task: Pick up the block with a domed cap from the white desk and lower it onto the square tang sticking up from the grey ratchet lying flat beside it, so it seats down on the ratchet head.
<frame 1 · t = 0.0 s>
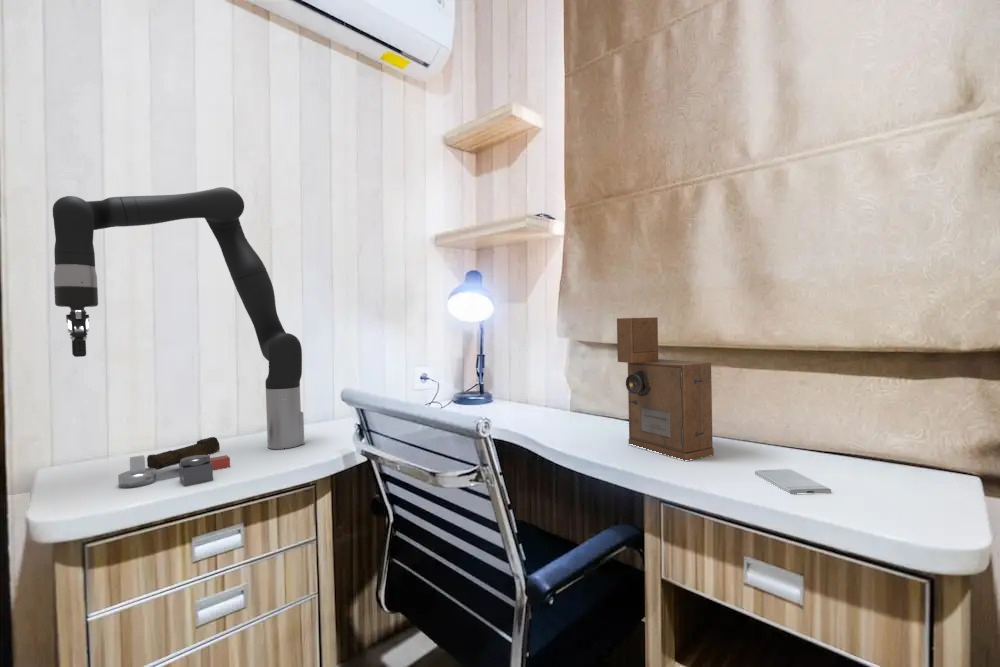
hand: (79, 356, 112), 29 cm above the table, tool pointing down, fingers open, 8 cm apart
vintage camera: (664, 450, 128), on the table
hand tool: (186, 460, 131), on the table
hard drive: (790, 487, 100), on the table
block with domed cap: (196, 480, 112), on the table
ratchet: (138, 483, 111), on the table
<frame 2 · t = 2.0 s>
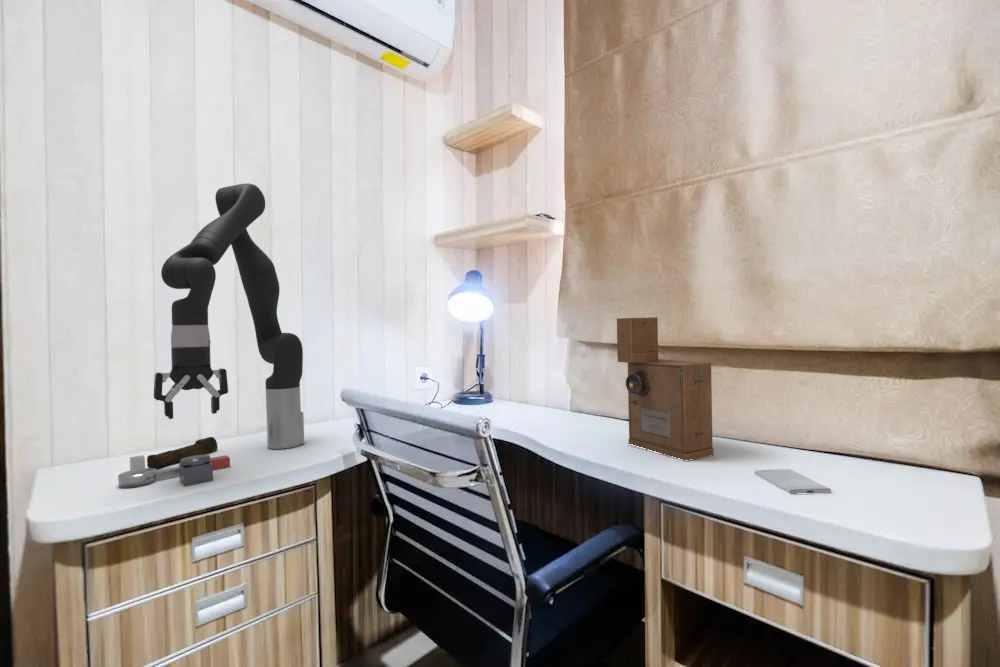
hand: (192, 415, 111), 15 cm above the table, tool pointing down, fingers open, 8 cm apart
nothing on the table moved.
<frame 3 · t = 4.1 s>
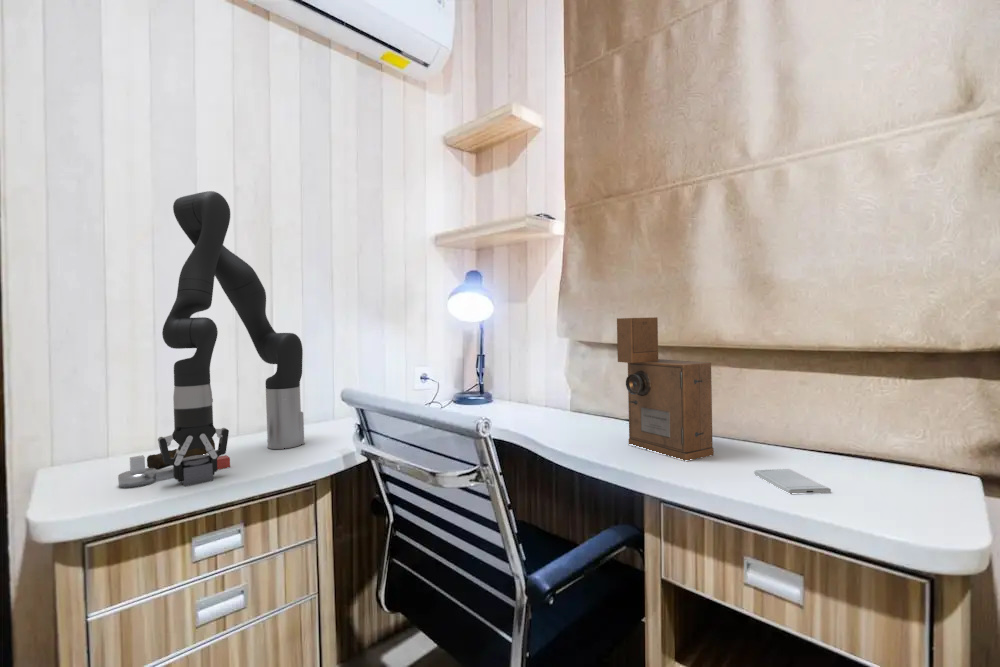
hand: (196, 477, 112), 1 cm above the table, tool pointing down, fingers closed on block with domed cap, 5 cm apart
block with domed cap: (196, 480, 112), on the table, touching gripper
everything else where it was.
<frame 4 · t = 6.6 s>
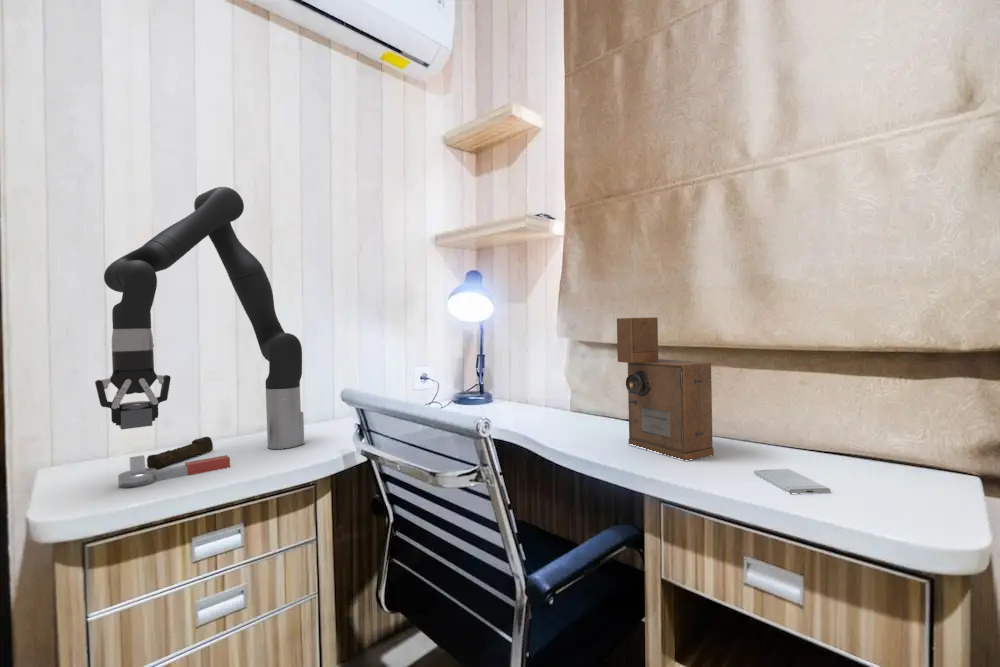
hand: (135, 422, 111), 14 cm above the table, tool pointing down, fingers closed on block with domed cap, 5 cm apart
block with domed cap: (135, 425, 111), point 13 cm above the table, touching gripper
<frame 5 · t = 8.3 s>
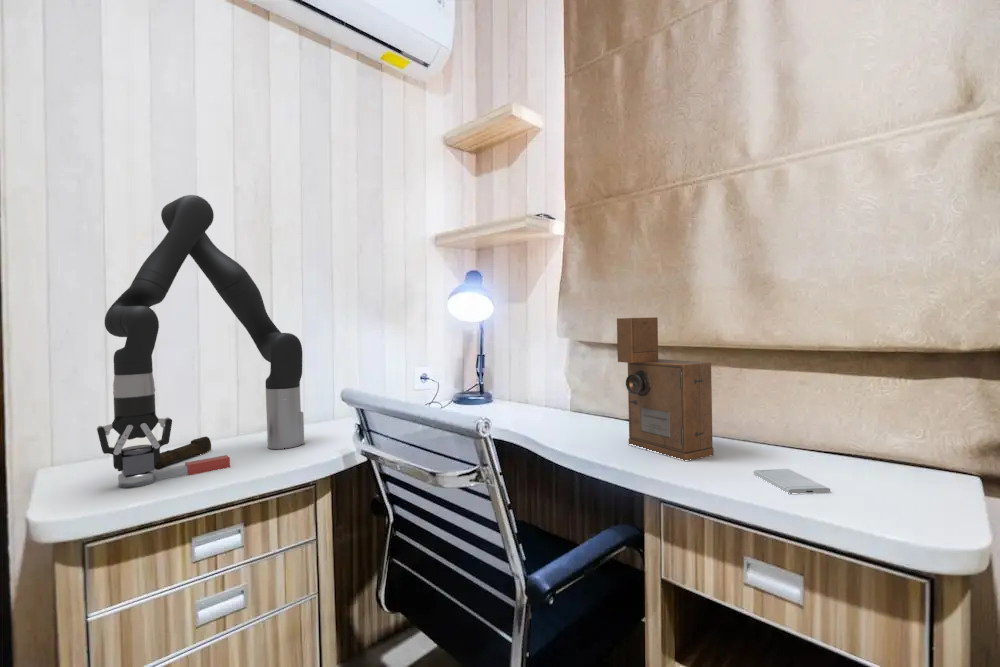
hand: (137, 467, 111), 4 cm above the table, tool pointing down, fingers closed on block with domed cap, 5 cm apart
block with domed cap: (137, 470, 111), point 3 cm above the table, touching gripper
when the fingers open (4 cm above the table, at t = 9.4 s): block with domed cap stays where it is, resting on ratchet.
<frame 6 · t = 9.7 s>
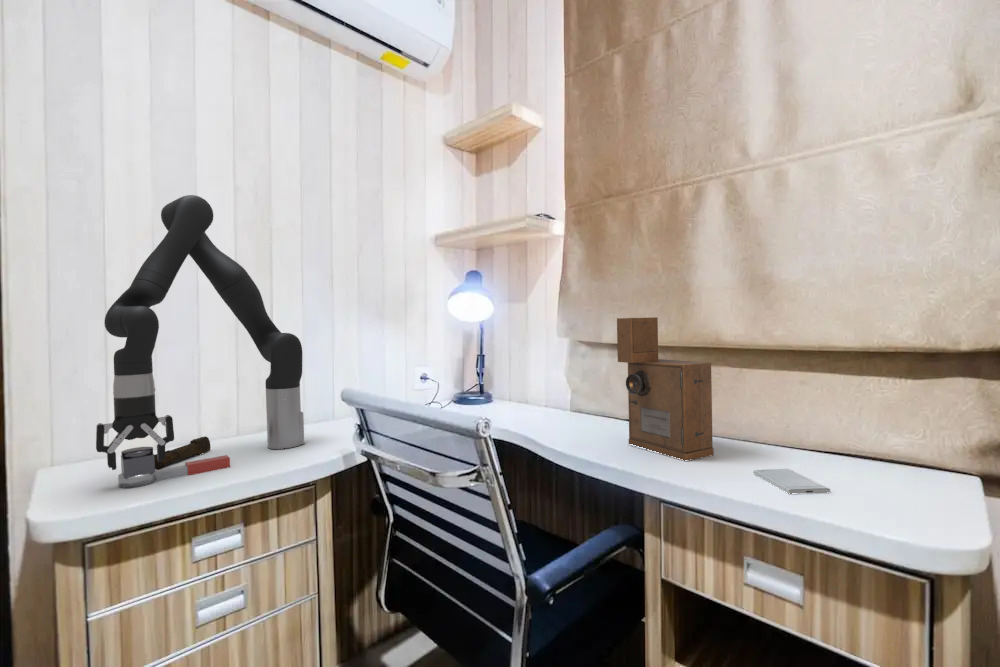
hand: (137, 465, 111), 4 cm above the table, tool pointing down, fingers open, 8 cm apart
block with domed cap: (138, 472, 111), point 2 cm above the table, touching ratchet
ratchet: (138, 483, 111), on the table, touching block with domed cap
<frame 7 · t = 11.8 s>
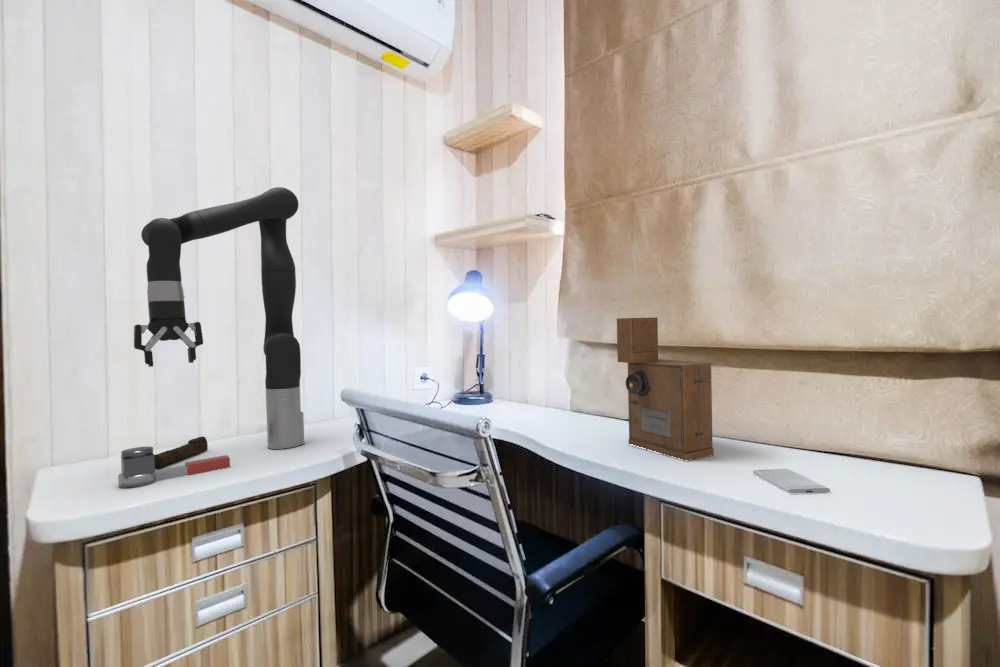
hand: (171, 364, 122), 26 cm above the table, tool pointing down, fingers open, 8 cm apart
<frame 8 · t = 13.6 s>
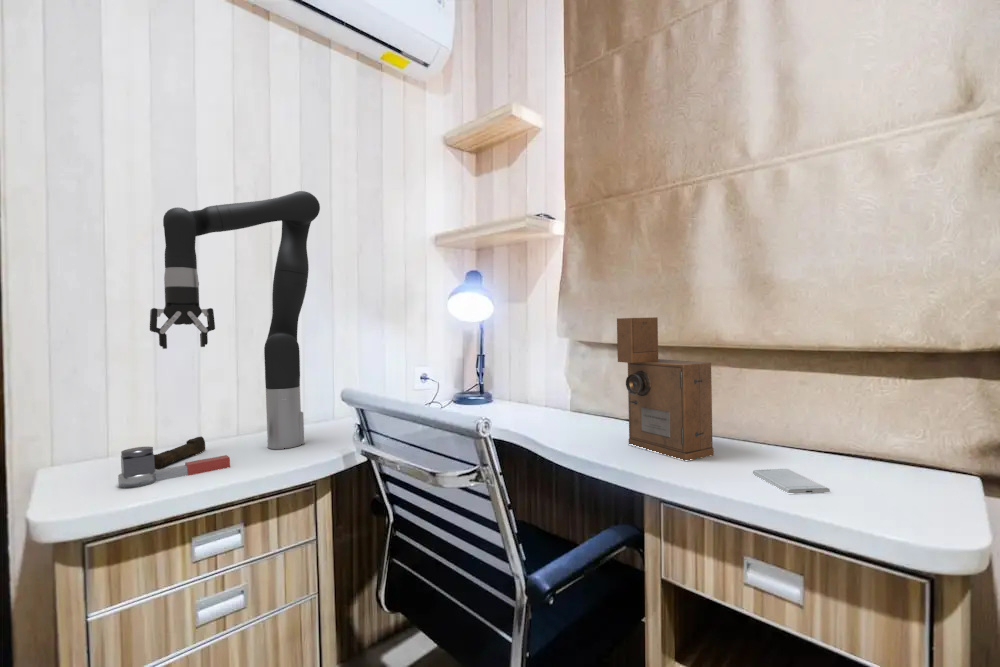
hand: (184, 347, 128), 30 cm above the table, tool pointing down, fingers open, 8 cm apart
at the end: block with domed cap 0.1 cm off-centre on the ratchet, point 2.5 cm above the ratchet's base; block with domed cap tilted 0°; the gripper is holding nothing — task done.
